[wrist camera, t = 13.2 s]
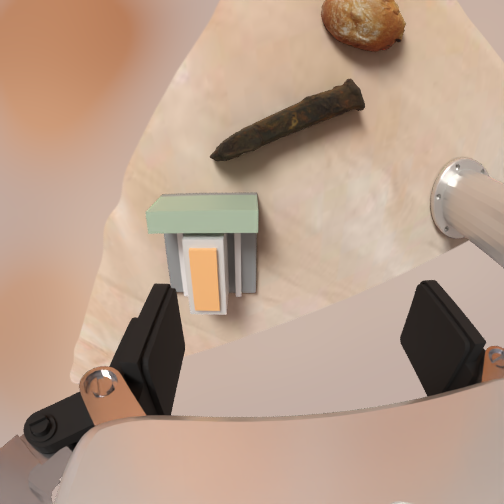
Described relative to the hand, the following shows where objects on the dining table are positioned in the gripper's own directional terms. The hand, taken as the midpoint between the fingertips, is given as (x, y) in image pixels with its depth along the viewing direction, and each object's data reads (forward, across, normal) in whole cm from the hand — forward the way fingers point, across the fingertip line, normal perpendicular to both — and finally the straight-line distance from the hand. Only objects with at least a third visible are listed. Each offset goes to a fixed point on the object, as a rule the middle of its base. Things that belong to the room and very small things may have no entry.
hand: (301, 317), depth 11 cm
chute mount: (+28, +7, +10) cm, 31 cm away
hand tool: (+29, -2, -6) cm, 29 cm away
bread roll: (+29, -12, -21) cm, 37 cm away
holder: (+27, +7, +11) cm, 30 cm away
